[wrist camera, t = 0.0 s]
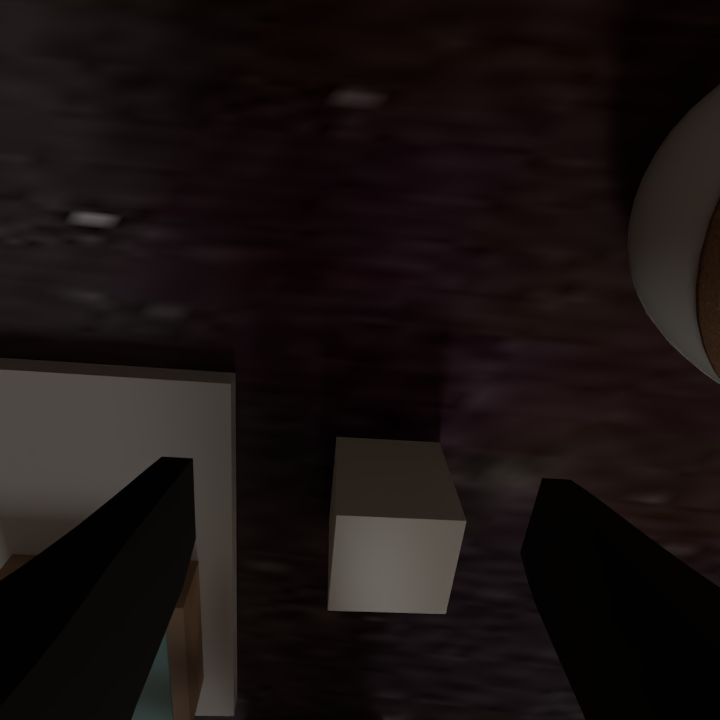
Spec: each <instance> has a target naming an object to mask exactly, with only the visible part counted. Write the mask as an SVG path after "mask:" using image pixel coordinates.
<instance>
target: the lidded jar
mask: <svg viewBox="0 0 720 720" xmlns="http://www.w3.org/2000/svg"><path fill="white" fill-rule="evenodd" d="M627 249H628V259H629V268H630V272H631V276H632V279H633V283H634V286H635V289H636V292H637V294H638V297H639V299H640V301H641V303H642V305H643V307H644V309H645V311H646V313H647V315H648V316H649V317H650V319H651V320H652V321H653V323H654V324H655V325H656V326H657V328H658V329H659V330H660V332H661V333H662V334H663V335H664V337H665V338H666V339H667V340H668V342H669V343H670V344H671V345H672V346H673V347H674V348H675V349H677V350H678V351H679V352H680V353H681V354H682V355H683V356H684V357H685V358H686V359H688V360H689V361H690V362H691V363H692V364H693V365H695V366H696V367H697V368H698V369H699V370H701V371H702V372H703V373H704V374H706V375H707V376H709V377H710V378H712V379H713V380H714V381H716V382H717V383H719V384H720V84H719V85H718V86H716V87H715V88H714V89H713V90H712V91H710V92H709V93H708V94H707V95H706V96H705V97H704V98H702V99H701V100H700V101H699V102H698V103H697V104H696V105H695V106H693V107H692V108H691V109H690V110H689V111H688V112H687V113H686V115H685V116H684V117H683V118H682V119H681V120H680V121H679V122H678V124H677V125H676V126H675V127H674V128H673V129H672V130H671V132H670V133H669V134H668V136H667V137H666V139H665V140H664V142H663V143H662V145H661V146H660V148H659V149H658V150H657V152H656V153H655V155H654V157H653V159H652V161H651V163H650V165H649V166H648V168H647V170H646V172H645V174H644V176H643V178H642V180H641V183H640V186H639V188H638V191H637V194H636V196H635V199H634V203H633V207H632V212H631V217H630V221H629V230H628V244H627Z"/></svg>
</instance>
